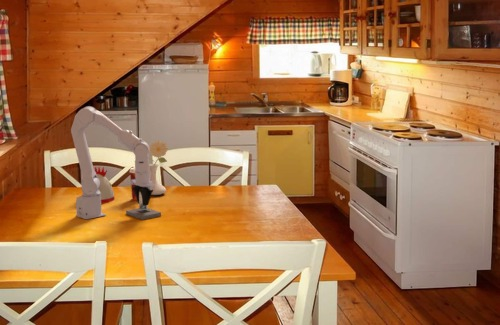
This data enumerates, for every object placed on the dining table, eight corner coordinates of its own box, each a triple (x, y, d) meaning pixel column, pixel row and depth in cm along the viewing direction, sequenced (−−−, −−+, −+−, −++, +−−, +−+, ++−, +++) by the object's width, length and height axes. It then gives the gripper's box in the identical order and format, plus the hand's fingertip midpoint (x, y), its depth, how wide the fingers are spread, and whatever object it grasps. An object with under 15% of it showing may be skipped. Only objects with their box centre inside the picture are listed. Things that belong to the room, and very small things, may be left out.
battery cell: (142, 209, 280) (141, 191, 279) (137, 208, 282) (137, 190, 281) (148, 208, 282) (148, 190, 281) (144, 206, 285) (143, 188, 283)
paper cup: (138, 202, 305) (137, 170, 302) (126, 199, 310) (125, 168, 307) (151, 198, 311) (150, 168, 309) (139, 196, 316) (138, 166, 313)
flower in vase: (137, 196, 316) (135, 141, 312) (147, 190, 327) (146, 138, 322) (163, 198, 313) (162, 143, 308) (173, 192, 323) (172, 139, 319)
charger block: (142, 219, 275) (142, 214, 275) (126, 214, 284) (125, 208, 284) (161, 216, 281) (160, 210, 281) (144, 210, 290) (144, 205, 290)
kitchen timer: (110, 203, 302) (109, 170, 300) (79, 203, 302) (77, 169, 300) (117, 196, 316) (116, 164, 313) (87, 196, 316) (85, 163, 313)
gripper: (160, 172, 277) (161, 206, 279) (140, 167, 288) (141, 199, 290) (146, 175, 272) (146, 208, 275) (126, 170, 283) (127, 202, 285)
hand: (143, 204), depth 282 cm, fingers closed on battery cell, 3 cm apart
